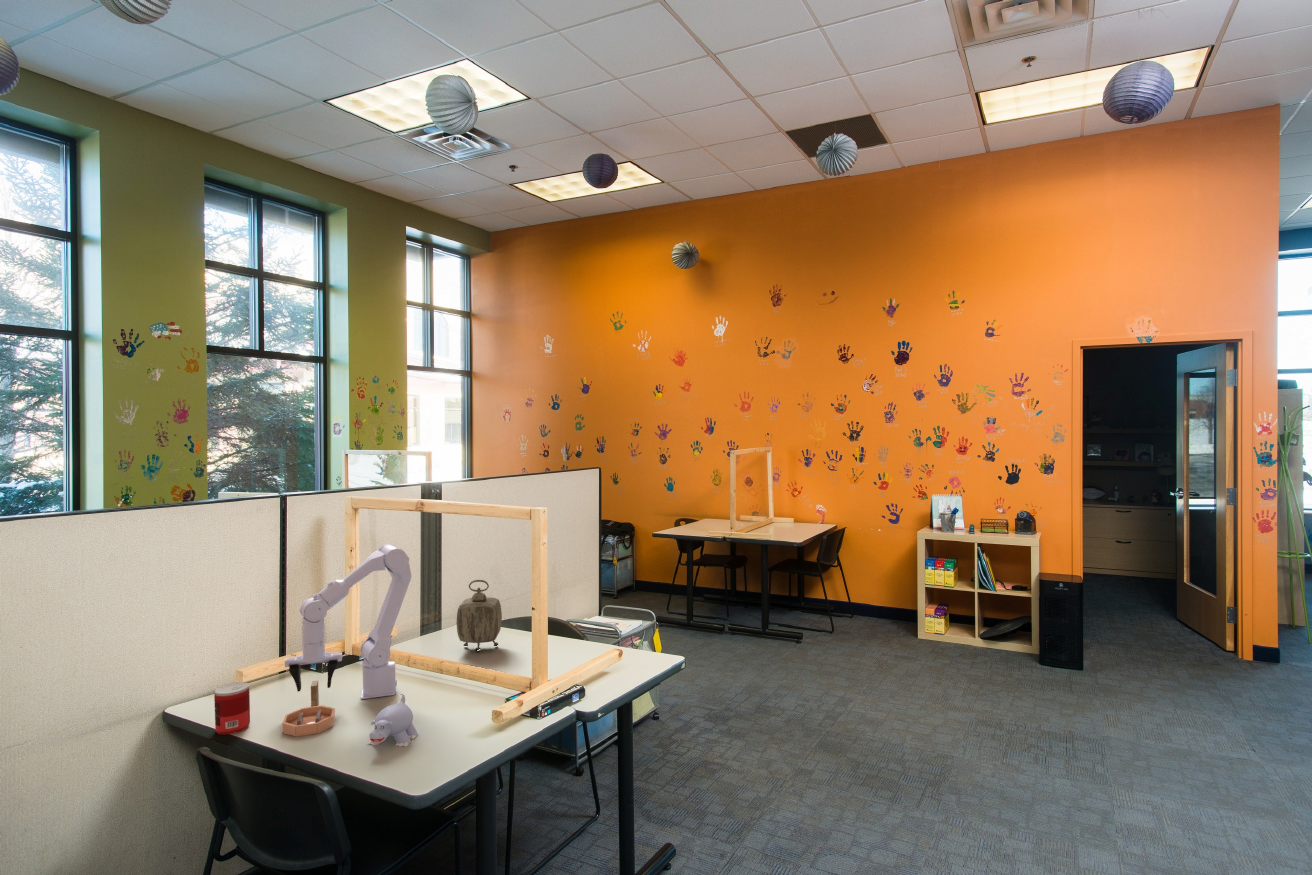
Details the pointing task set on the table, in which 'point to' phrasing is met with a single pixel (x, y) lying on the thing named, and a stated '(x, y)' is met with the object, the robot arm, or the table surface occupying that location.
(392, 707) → the hippopotamus toy
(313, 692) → the brown rectangular block
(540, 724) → the table surface
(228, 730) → the canned food
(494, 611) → the tabletop clock
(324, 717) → the dish
